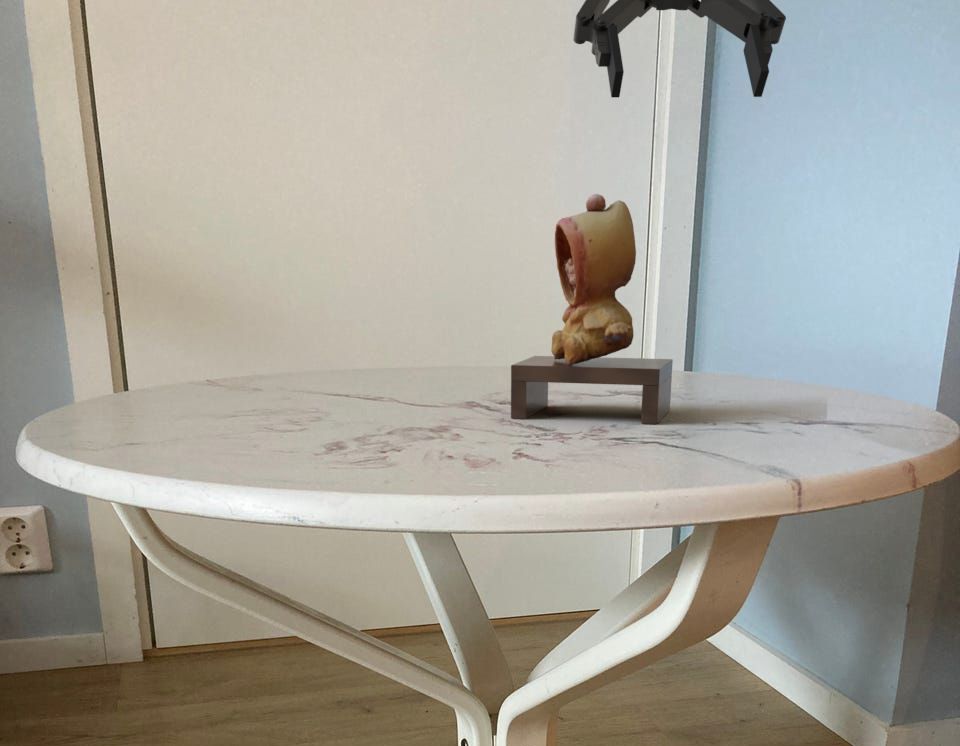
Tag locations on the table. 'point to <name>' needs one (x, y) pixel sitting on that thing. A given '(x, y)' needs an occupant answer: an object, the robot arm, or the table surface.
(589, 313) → the figurine
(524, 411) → the shelf
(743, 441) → the table surface
